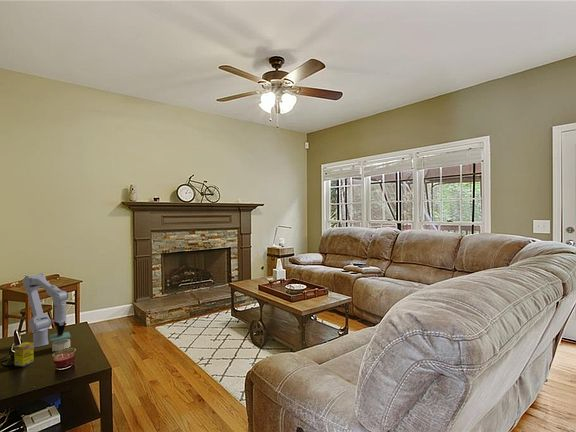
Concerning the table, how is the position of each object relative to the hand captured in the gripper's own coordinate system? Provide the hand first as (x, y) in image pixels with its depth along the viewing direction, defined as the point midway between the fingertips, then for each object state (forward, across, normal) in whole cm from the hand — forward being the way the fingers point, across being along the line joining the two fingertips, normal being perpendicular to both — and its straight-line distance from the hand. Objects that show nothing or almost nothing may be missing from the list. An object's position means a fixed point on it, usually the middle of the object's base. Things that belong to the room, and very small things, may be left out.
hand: (60, 334), depth 194 cm
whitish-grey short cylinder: (+9, 0, 0) cm, 9 cm away
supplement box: (+9, +12, -17) cm, 23 cm away
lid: (+2, 0, 0) cm, 2 cm away
